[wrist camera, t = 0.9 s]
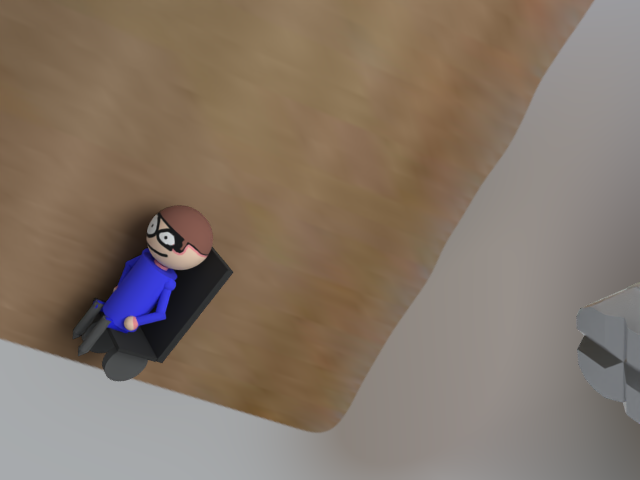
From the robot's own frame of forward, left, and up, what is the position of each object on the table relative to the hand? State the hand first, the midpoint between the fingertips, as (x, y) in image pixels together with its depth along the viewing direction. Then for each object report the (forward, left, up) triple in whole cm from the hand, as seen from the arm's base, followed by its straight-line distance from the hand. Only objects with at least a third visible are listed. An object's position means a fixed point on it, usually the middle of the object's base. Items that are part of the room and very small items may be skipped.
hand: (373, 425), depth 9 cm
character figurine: (+14, -1, -40) cm, 42 cm away
